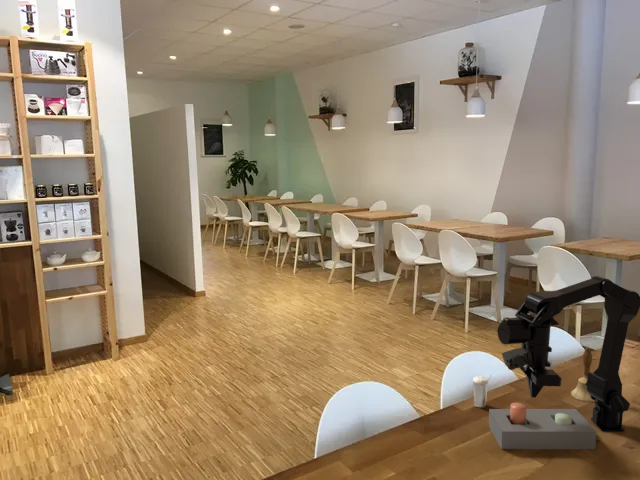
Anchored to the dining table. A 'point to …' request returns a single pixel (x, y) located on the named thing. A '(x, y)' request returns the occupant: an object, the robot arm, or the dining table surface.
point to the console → (542, 430)
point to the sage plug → (562, 419)
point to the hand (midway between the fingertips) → (533, 396)
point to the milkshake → (480, 390)
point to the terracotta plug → (518, 414)
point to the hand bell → (584, 379)
